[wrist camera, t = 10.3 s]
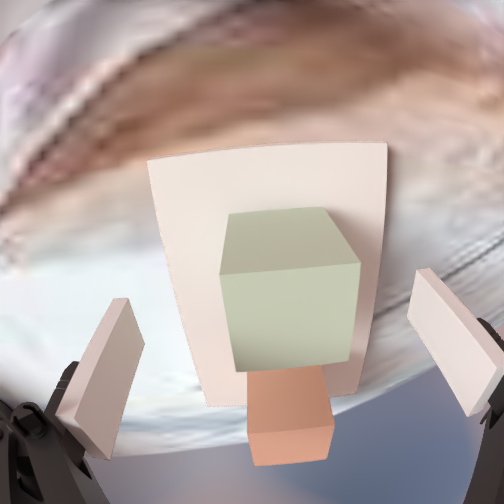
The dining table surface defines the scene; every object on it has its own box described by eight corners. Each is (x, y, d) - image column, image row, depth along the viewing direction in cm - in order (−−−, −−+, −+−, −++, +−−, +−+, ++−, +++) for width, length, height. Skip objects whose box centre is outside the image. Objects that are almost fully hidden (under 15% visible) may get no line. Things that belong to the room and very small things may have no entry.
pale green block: (238, 293, 19) (236, 372, 13) (228, 213, 17) (219, 274, 11) (321, 285, 19) (348, 360, 13) (322, 206, 17) (361, 262, 11)
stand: (208, 397, 27) (201, 477, 19) (152, 157, 18) (84, 199, 10) (353, 383, 27) (376, 459, 19) (379, 140, 17) (464, 172, 9)
